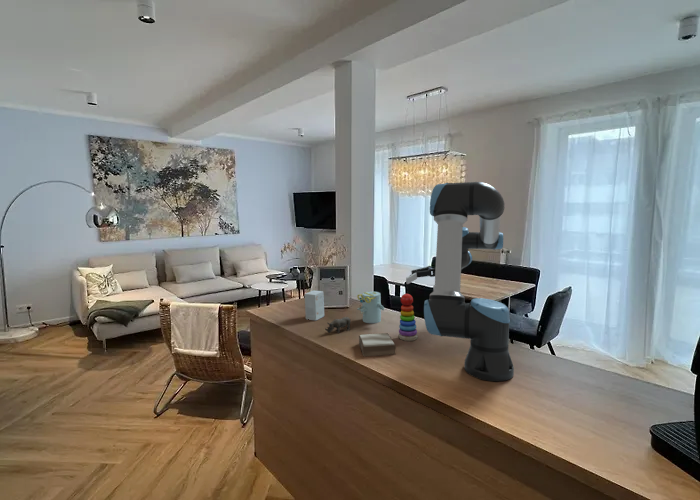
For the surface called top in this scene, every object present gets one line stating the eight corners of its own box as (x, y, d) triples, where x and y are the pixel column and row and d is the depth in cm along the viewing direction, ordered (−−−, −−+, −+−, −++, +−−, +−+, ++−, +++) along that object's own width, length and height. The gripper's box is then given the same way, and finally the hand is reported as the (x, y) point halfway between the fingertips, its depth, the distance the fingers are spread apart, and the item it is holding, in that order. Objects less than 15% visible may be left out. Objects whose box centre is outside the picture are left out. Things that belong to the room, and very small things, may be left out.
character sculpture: (348, 318, 177) (347, 291, 175) (366, 313, 183) (366, 288, 181) (372, 329, 160) (372, 299, 159) (392, 323, 167) (392, 295, 165)
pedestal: (395, 354, 132) (395, 343, 132) (363, 356, 131) (363, 346, 131) (388, 342, 144) (388, 332, 144) (359, 344, 143) (358, 334, 143)
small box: (314, 314, 184) (313, 290, 182) (324, 316, 181) (323, 291, 179) (305, 319, 177) (304, 293, 175) (316, 320, 174) (315, 294, 172)
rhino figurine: (322, 334, 156) (322, 320, 155) (348, 327, 164) (347, 314, 163) (327, 336, 152) (327, 323, 152) (353, 329, 160) (353, 316, 160)
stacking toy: (416, 334, 152) (416, 291, 150) (418, 341, 144) (418, 296, 142) (398, 334, 153) (397, 291, 150) (398, 341, 145) (398, 296, 142)
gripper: (474, 281, 152) (446, 301, 139) (425, 269, 170) (397, 285, 157) (474, 265, 150) (446, 283, 137) (424, 254, 168) (395, 270, 154)
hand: (420, 285), depth 147 cm, fingers open, 13 cm apart
